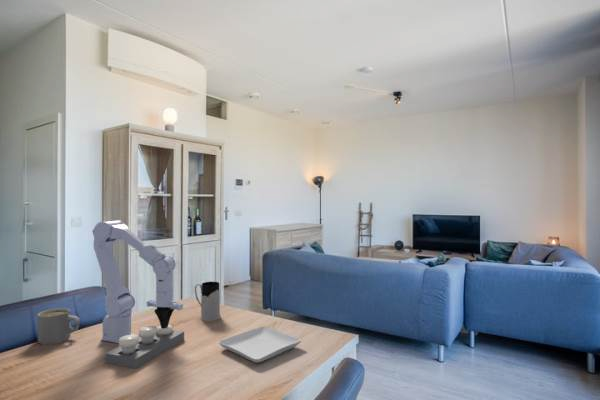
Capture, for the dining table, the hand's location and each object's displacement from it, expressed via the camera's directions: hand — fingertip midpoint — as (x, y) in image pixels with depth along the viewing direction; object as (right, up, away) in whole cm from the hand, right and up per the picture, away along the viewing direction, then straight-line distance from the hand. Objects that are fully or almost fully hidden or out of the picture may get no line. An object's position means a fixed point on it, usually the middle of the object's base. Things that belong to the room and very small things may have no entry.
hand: (164, 327), depth 133 cm
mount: (-3, -5, -8) cm, 10 cm away
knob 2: (-3, -3, -8) cm, 9 cm away
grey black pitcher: (+8, -5, +27) cm, 29 cm away
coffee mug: (-40, -5, +1) cm, 40 cm away
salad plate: (+36, -6, -6) cm, 37 cm away
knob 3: (0, -5, 0) cm, 5 cm away
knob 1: (-5, -3, -16) cm, 17 cm away
